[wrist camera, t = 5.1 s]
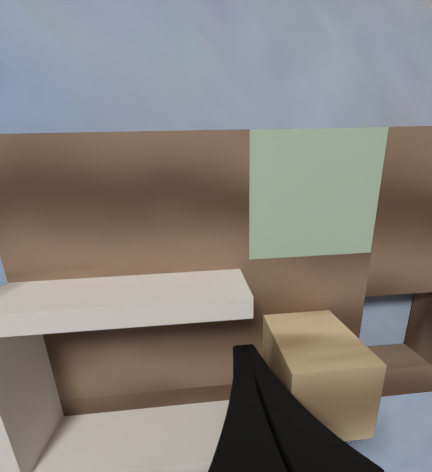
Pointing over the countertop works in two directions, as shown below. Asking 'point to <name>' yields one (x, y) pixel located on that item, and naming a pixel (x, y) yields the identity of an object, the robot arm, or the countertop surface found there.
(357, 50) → the countertop surface
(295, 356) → the block
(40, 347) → the cubby
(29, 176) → the board
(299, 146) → the pad
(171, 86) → the countertop surface
